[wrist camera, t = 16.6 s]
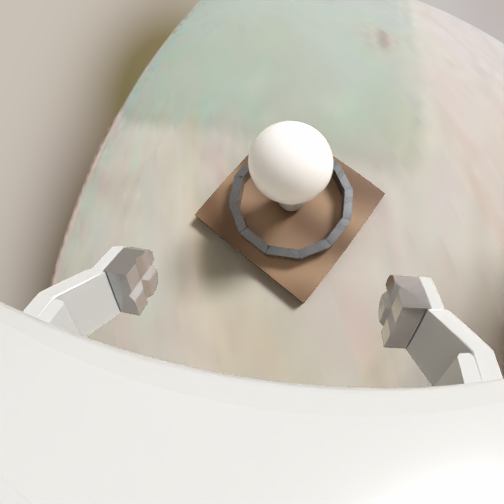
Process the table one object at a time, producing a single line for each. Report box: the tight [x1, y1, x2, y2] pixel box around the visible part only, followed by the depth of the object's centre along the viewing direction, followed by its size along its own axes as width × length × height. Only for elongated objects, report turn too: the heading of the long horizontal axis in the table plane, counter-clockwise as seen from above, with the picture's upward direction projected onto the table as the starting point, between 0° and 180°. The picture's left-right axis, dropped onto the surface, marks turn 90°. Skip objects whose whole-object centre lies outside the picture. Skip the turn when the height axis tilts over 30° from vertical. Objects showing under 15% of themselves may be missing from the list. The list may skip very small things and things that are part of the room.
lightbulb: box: [248, 121, 333, 211], centre depth 23 cm, size 6×6×11 cm
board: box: [195, 155, 385, 303], centre depth 29 cm, size 14×14×1 cm
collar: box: [229, 159, 353, 262], centre depth 28 cm, size 12×12×2 cm
